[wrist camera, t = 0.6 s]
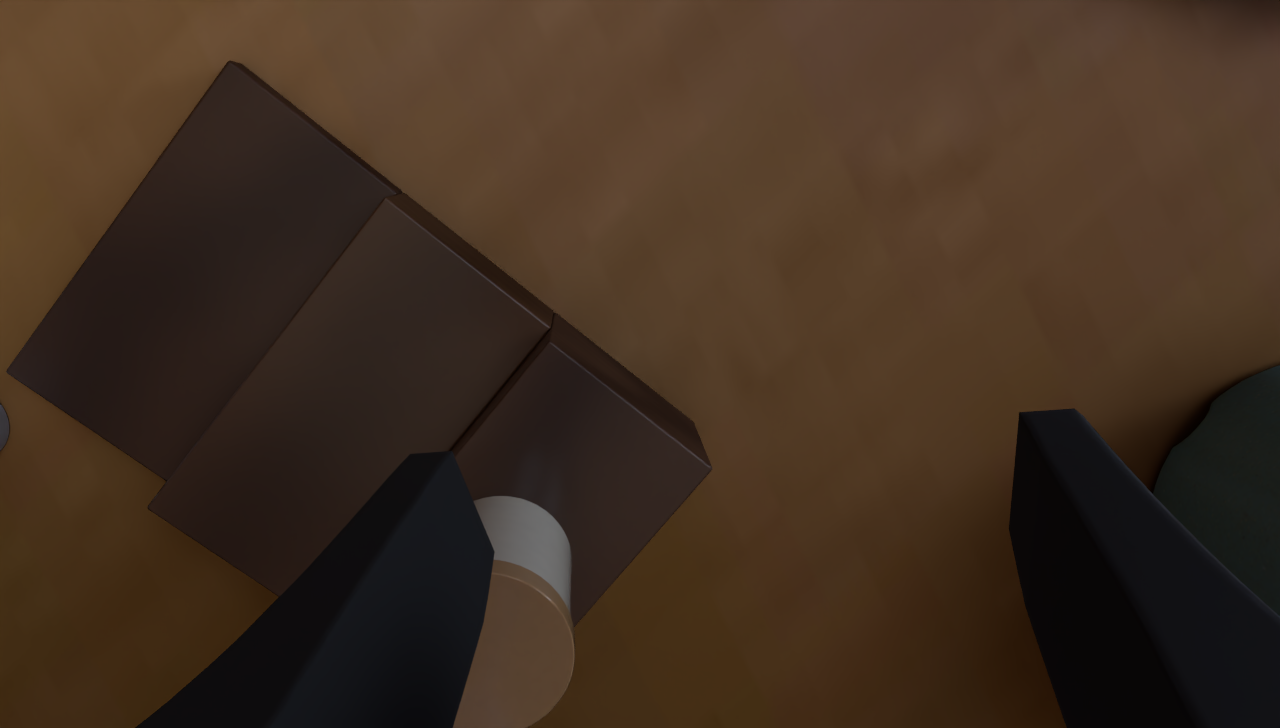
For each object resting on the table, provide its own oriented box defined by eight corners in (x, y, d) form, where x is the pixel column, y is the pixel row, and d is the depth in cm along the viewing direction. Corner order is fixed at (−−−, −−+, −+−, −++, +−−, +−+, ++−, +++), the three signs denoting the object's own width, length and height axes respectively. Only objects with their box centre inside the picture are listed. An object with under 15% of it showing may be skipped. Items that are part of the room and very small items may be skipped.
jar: (541, 649, 29) (531, 762, 24) (403, 597, 29) (360, 701, 23) (600, 524, 28) (604, 612, 23) (460, 467, 28) (430, 544, 22)
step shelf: (694, 422, 33) (713, 468, 28) (476, 675, 35) (458, 760, 30) (239, 61, 29) (171, 43, 25) (21, 365, 31) (-82, 404, 26)
